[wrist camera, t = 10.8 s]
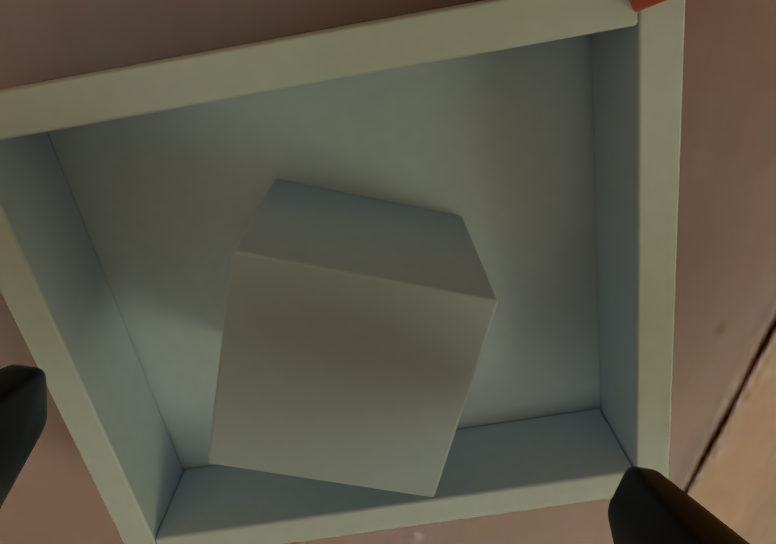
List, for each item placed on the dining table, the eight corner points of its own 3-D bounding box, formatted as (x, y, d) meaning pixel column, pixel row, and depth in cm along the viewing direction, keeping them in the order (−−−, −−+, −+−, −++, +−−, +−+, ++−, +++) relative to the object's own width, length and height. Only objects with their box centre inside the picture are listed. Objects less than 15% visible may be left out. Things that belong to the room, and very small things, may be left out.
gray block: (251, 342, 15) (206, 464, 11) (275, 177, 14) (231, 250, 9) (419, 372, 16) (434, 499, 12) (463, 216, 14) (499, 300, 10)
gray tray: (171, 478, 18) (133, 566, 15) (9, 87, 13) (-91, 108, 10) (620, 412, 17) (669, 491, 14) (617, -25, 12) (688, -36, 10)
